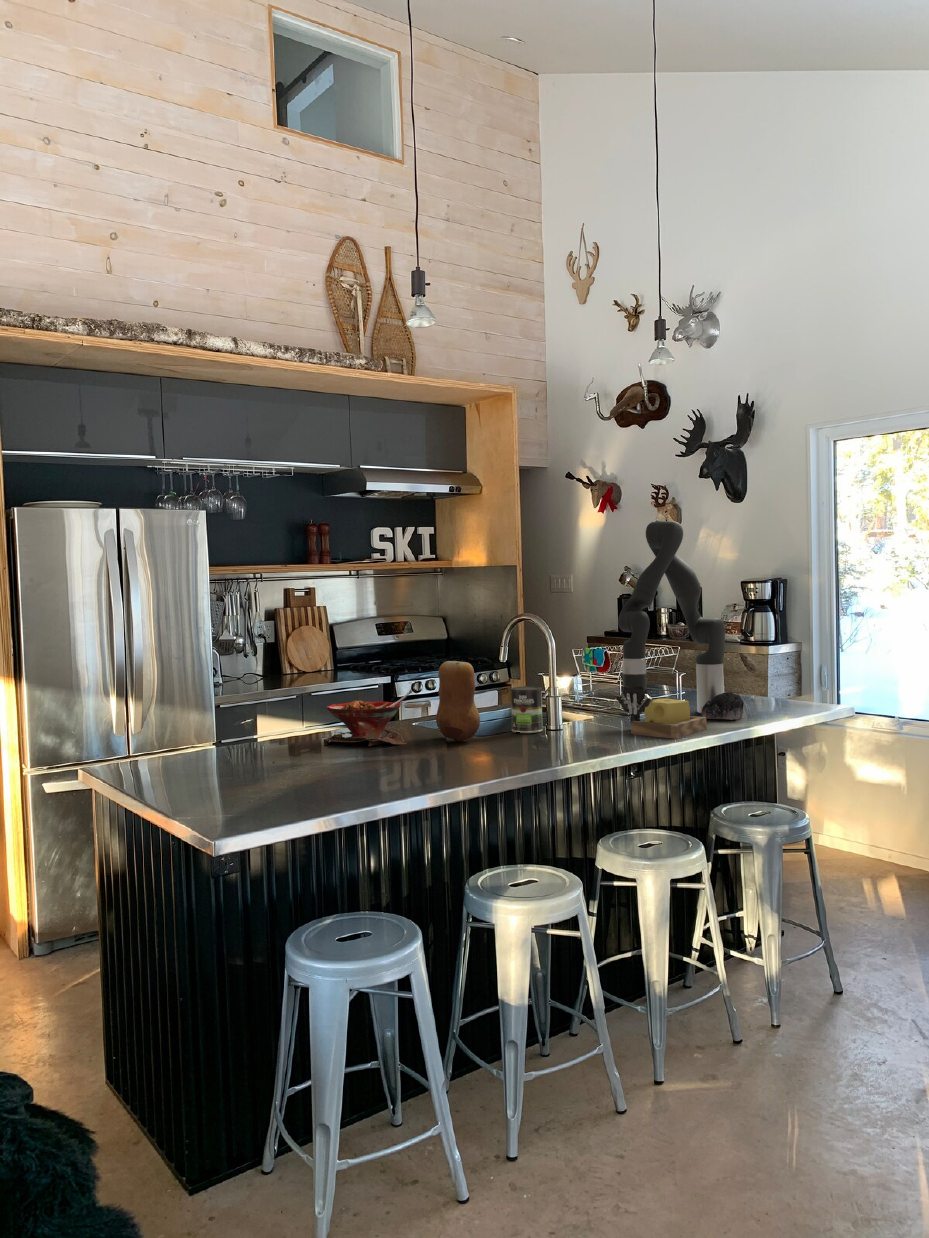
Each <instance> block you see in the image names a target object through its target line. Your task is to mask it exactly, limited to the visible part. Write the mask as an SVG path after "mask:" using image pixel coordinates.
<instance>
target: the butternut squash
mask: <svg viewBox="0 0 929 1238" xmlns="http://www.w3.org/2000/svg"><path fill="white" fill-rule="evenodd" d="M437 675H438V680H439V682H438V684H439V686H438V691H437V693H438V697H439V700H438V701H439V704H438V706H437V707H438V708H437V711H436V716H435V723H436V726H437V728H438V729H439V732H440V734H442V736H444V737H445V738H447V739H452V740H454V741H455V740H456V742H465V741H466V740H468V739H471V738H473V737H474V736H475V735H476V734H477V731H478V730H479V729H480V725H481V724H480V723H481V717H480V713H479V710H478V708H477V706H476V703H475V691H476V679H475V671H474V667H473V666H472V664H471V663H470V662H466V661H457V660H452V661H451V660H447V661H444V662H443V663H442V664H441V665H440V667H439V669H438V673H437ZM464 740H465V741H464Z"/></svg>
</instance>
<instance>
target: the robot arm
mask: <svg viewBox="0 0 929 1238" xmlns="http://www.w3.org/2000/svg"><path fill="white" fill-rule="evenodd" d="M645 539H646V542H647V544H648V546H649V549H650V550H651V552H652V553H653V554H654V556H655V558H654V559H653V560H652V562H651V563H649V565H648V566H647V567H645V569H644V570H643V571H642V572H641V574H640V575H639V577H638V578H637V580H636V583H635V586H634V587H633V588H634V589H633V591H632V594H631V596H630V597H629V599H628V600H627V601H626V603H625V604H624V606H623V607H622V609H621V611H620V613H619V615H618V618H617V622H618V623H617V624H618V627H619V629H620V630H621V631H622V632H624V633H625V632H626V633H631V635H630V639H626V640H625V641H624V642H623V644H622V645H623V646H622V654H623V655H622V658H623V659H622V686H623V688H622V691H621V694H620V695H618V696H616V700H617V702H618V703H619V704H620V706H621V707H622V709H623V711H624V712H626V713H629V722H630V724H631V722H632V721H641V714H642V713H643V714H644V711H645V707H648V706H649V704H650V703H651V701H652V700H654V697H652V696H649V695H648V691H647V663H646V662H647V661H646V644H647V639H648V636H649V631H650V626H651V621H650V617H649V614H647V612H646V611H643V610H644V609H647V608H649V607H651V606H652V603H653V602H654V600H655V597H656V593H657V591H658V588H659V586H660V584H661V582H662V579H663V577H664V575H665V577H666V579H667V581H668V583H669V585H670V589H671V590H672V593H673V595H674V596H675V599H676V600H677V602H678V604H679V607H680V609H681V612H682V614H683V617H684V620H685V623H686V626H687V630H688V632H689V635H690V637H691V639H692V640H693V642H694V643H696V644H698V645H699V644H700V645H708V649H707V650H706V651H705V652H703V653H701V654H698V655H697V656H696V657H695V668H696V670H695V671H696V709H697V713H699V714H702V711H701V710H702V708H703V706H704V705H705V704H706V702H707V701H709V700H710V699H711V698H713V697H715V696H716V695H718V694H722V693H725V684H724V683H725V682H724V680H725V679H724V676H725V675H724V658H725V653H726V652H725V648H726V647H725V643H726V641H725V640H726V628H725V623H724V621H723V620H722V619H721V618H719V617H702V615H701V614H700V612H699V609H698V604H699V601H700V597H701V593H702V586H701V584H700V580H699V579H698V577H697V575H696V574H697V573H695V571H694V569H693V568H692V567H691V566H690V565H689V564H688V563H687V562H686V561H684V560H683V559H682V558H681V557H680V556H678V555H677V552H678V550H679V548H680V546H681V544H682V542H683V539H684V529H683V527H682V524H680V523H679V522H677V521H672V520H671V521H670V520H669V521H667V520H665V521H664V520H657V521H651V522H650V523H649V524H647V526H646V528H645Z"/></svg>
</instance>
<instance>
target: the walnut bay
mask: <svg viewBox="0 0 929 1238" xmlns="http://www.w3.org/2000/svg"><path fill="white" fill-rule="evenodd" d="M704 729H705V730H707V719H706V717H703V716H695V715H694V716H691V715H690V720H687V721H684V722H680V723H677V724H666V723H654V722H644V720H642V721H641V720H640V721H632V722H631V723H630V733H631V734H630V735H634V736H644V737H657V738H666V739H678V740H679V739H681V738H684V737H687V736H690V735H693V734H696V733H699V732H701V730H702V731H704ZM695 732H696V733H695ZM692 733H693V734H692ZM683 736H684V737H683ZM680 737H681V738H680Z"/></svg>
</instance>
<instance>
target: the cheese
mask: <svg viewBox="0 0 929 1238" xmlns="http://www.w3.org/2000/svg"><path fill="white" fill-rule="evenodd" d="M689 703H690V702H689V700H683V699H673V698H667V697H666V698H657V699H656V698H655V699H653V700H652V701H651V703H650V704H649V706H648V707H645V711H644V712H643V715H644V716H645V719H644V720H643V722H654V723H666V724H677V723H680V722H684V721H687V720H690V716H691V708H690V704H689Z"/></svg>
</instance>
